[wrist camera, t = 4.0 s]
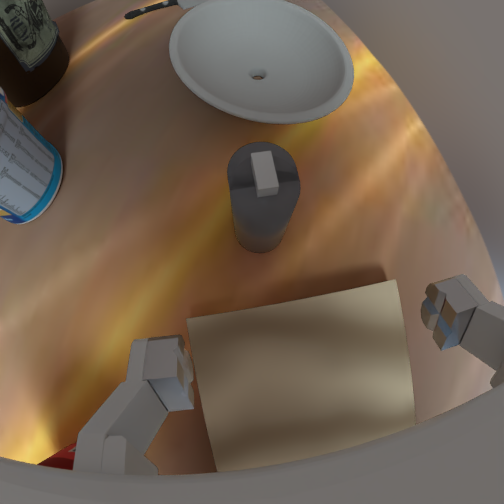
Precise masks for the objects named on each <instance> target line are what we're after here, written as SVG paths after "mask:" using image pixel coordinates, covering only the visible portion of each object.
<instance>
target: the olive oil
mask: <svg viewBox="0 0 504 504" xmlns="http://www.w3.org/2000/svg"><path fill="white" fill-rule="evenodd" d="M58 34H59V29H58V27H57V24H56V22H54V21H52V20H51V18H50V16H49V14H48V12H47V10H46V7H45V5H44V3H43V1H42V0H0V87H1V88H2V89H3V90H4V92H5V94H6V96H7V99H8V100H9V101H10V102H11V103H12V104H13V106H14V107H21V106H25V105H28V104H30V103H32V102H34V101H36V100H37V99H39V98H40V97H42V96H43V95H44V94H46V93H47V92H48V91H49V90H50V89H51V88H52V87H53V86H54V85H55V84H56V83H57V82H58V81H59V80H60V78H61V77H62V75H63V74H64V72H65V70H66V68H67V66H68V63H69V55H68V52H67V50H66V48H65V46H64V44H63V43H62V41H61V39H60V37H59V35H58Z"/></svg>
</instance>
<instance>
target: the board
mask: <svg viewBox="0 0 504 504" xmlns="http://www.w3.org/2000/svg"><path fill="white" fill-rule="evenodd" d="M186 322H187V328H188V334H189V340H190V346H191V351H192V357H193V362H194V368H195V373H196V378H197V384H198V389H199V394H200V399H201V403H202V408H203V413H204V418H205V422H206V427H207V431H208V436H209V440H210V444H211V449H212V453H213V457H214V461H215V465H216V469H217V472H225V471H234V470H243V469H250V468H257V467H263V466H270V465H275V464H281V463H286V462H291V461H296V460H301V459H306V458H310V457H315V456H319V455H323V454H327V453H331V452H335V451H338V450H342V449H346V448H349V447H353V446H356V445H359V444H363V443H366V442H369V441H372V440H375V439H378V438H381V437H384V436H387V435H390V434H393V433H396V432H398V431H401V430H404V429H406V428H409V427H412V426H414V425H416V419H415V406H414V395H413V385H412V376H411V367H410V359H409V352H408V345H407V338H406V332H405V326H404V320H403V314H402V309H401V303H400V298H399V293H398V288H397V283H396V279H394V280H390V281H386V282H381V283H377V284H372V285H368V286H363V287H359V288H354V289H349V290H345V291H340V292H335V293H330V294H325V295H320V296H315V297H310V298H305V299H300V300H294V301H289V302H284V303H278V304H273V305H267V306H261V307H256V308H250V309H244V310H238V311H232V312H226V313H220V314H213V315H207V316H200V317H194V318H187V319H186Z"/></svg>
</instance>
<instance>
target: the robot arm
mask: <svg viewBox="0 0 504 504" xmlns="http://www.w3.org/2000/svg"><path fill="white" fill-rule="evenodd" d="M425 293H426V295H427V298H426V299H425V300H424V301H423V303H422V307H421V318H422V320H423V323H424V325H425V326H426V328H427V329H429V330H431V331H433V339H434V340H435V342H436V343H437V345H438V347H439V348H440V350H441V351H442V350H445V349H448V348H451V347H453V346H456V345H459V344H460V346H461V347H463V348H464V349H465V350H467V351H468V352H470V353H471V354H473V355H474V356H476V357H477V358H479V359H480V360H481V361H483V362H484V363H486V364H487V365H489V366H490V367H491V368H493V369H494V370H496V373H495V374H494V375H493V377H492V378H491V381H490V384H491V386H492V387H493V389H491V390H489V391H487V392H485V393H483V394H482V395H480V396H478V397H476V398H474V399H472V400H470V401H468V402H466V403H464V404H462V405H460V406H458V407H456V408H453V409H451V410H449V411H447V412H445V413H443V414H440V415H438V416H436V417H433V418H431V419H429V420H426V421H424V422H422V423H419V424H417V425H414V426H412V427H409V428H406V429H404V430H401V431H398V432H396V433H393V434H390V435H387V436H384V437H381V438H378V439H375V440H372V441H369V442H366V443H363V444H359V445H356V446H353V447H349V448H346V449H342V450H338V451H335V452H331V453H327V454H323V455H319V456H315V457H310V458H306V459H301V460H296V461H291V462H286V463H281V464H275V465H270V466H263V467H257V468H250V469H243V470H234V471H225V472H215V473H203V474H186V475H158V468H157V467H156V466H155V465H154V464H153V463H152V462H151V461H149V460H148V459H147V458H146V457H145V456H144V454H145V452H146V450H147V449H148V447H149V445H150V444H151V442H152V440H153V439H154V437H155V435H156V434H157V432H158V430H159V429H160V427H161V425H162V424H163V422H164V420H165V419H166V417H167V415H168V412H171V411H180V410H188V409H194V390H193V388H192V386H191V382H192V381H193V380H194V376H193V366H192V361H191V357H190V354H189V352H188V351H187V350H185V349H184V345H185V342H184V340H183V338H182V336H181V335H172V336H162V337H152V338H145V339H134V341H133V342H132V345H131V351H130V357H129V363H128V369H127V376H126V382H121V383H120V384H119V386H118V387H117V388H116V389H115V390H114V391H113V393H112V394H111V395H110V396H109V397H108V399H107V400H106V401H105V402H104V403H103V404H102V406H101V407H100V408H99V409H98V410H97V412H96V413H95V414H94V415H93V416H92V417H91V419H90V420H89V421H88V422H87V423H86V425H85V426H84V427H83V428H82V429H81V431H80V432H79V433H78V438H77V444H76V451H75V458H74V465H73V470H66V469H59V468H52V467H46V466H41V465H35V464H30V463H25V462H20V461H16V460H12V459H7V458H3V457H0V504H504V306H501V305H499V304H497V303H495V302H493V301H491V302H489V301H488V300H487V299H486V298H485V296H484V295H483V294H482V293H481V292H480V291H479V290H478V288H477V287H476V286H475V285H474V284H473V283H472V282H471V280H470V279H469V278H468V277H467V276H466V275H464V274H461V275H458V276H454V277H452V278H448V279H444V280H441V281H437V282H434V283H430V284H429V285H428V286H427V288H426V292H425Z"/></svg>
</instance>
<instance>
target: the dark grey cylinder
mask: <svg viewBox="0 0 504 504" xmlns="http://www.w3.org/2000/svg"><path fill="white" fill-rule="evenodd" d="M227 175H228V183H229V191H230V199H231V206H232V214H233V222H234V228H235V234H236V237H237V240H238V241H239V243H240V244H241V245H242V246H243V247H244V248H245V249H247V250H249V251H251V252H255V253H265V252H268V251H271V250H272V249H274V248H275V247H276V246H277V245H278V244H279V243H280V242H281V240H282V237H283V235H284V233H285V230H286V228H287V225H288V223H289V220H290V218H291V215H292V213H293V210H294V208H295V205H296V203H297V200H298V198H299V195H300V180H299V176H298V172H297V168H296V165H295V162H294V160H293V158H292V157H291V155H290V154H289V153H288V152H287V151H286V150H284V149H283V148H281V147H280V146H278V145H275V144H272V143H268V142H255V143H250V144H247V145H245V146H243V147H242V148H240V149H239V150H237V151H236V152H235V153H234V155H233V156H232V157H231V159H230V161H229V164H228V169H227Z"/></svg>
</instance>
